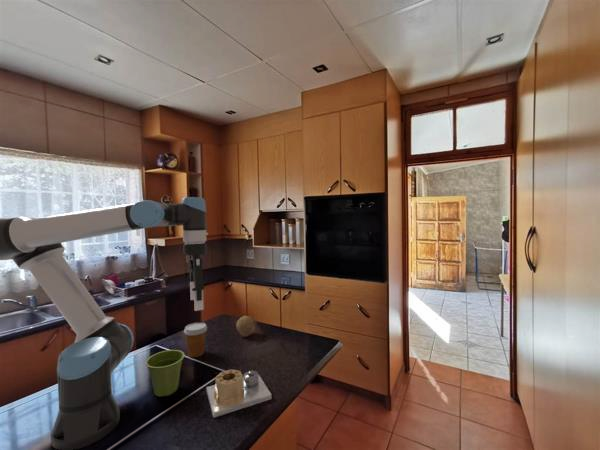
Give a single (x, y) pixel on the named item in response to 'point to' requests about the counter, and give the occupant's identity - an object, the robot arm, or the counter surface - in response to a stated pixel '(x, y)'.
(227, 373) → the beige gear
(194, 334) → the disposable coffee cup
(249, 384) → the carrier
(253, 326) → the natural sponge
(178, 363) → the plant pot
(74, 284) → the robot arm
